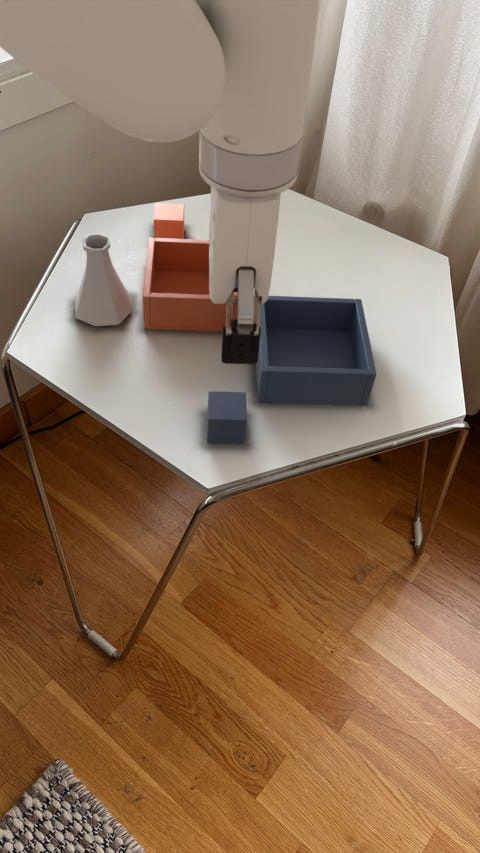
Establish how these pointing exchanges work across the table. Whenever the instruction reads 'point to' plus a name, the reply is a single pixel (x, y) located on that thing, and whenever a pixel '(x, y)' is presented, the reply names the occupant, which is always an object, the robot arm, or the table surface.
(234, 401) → the slate block
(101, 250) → the flask
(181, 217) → the terracotta block
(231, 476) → the table surface
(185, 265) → the terracotta bin
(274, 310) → the slate bin
